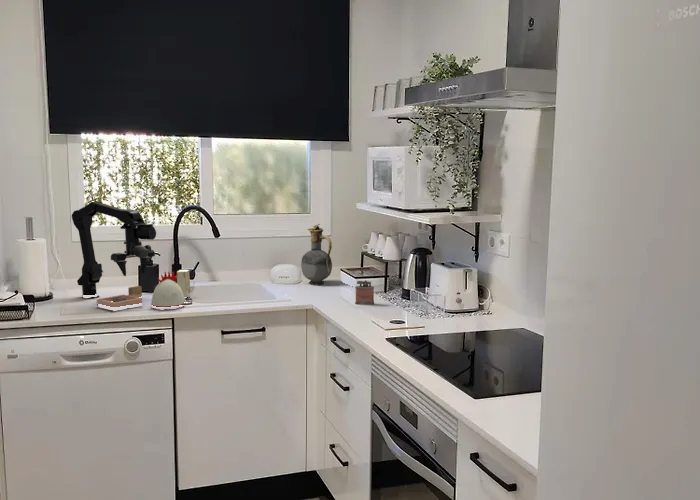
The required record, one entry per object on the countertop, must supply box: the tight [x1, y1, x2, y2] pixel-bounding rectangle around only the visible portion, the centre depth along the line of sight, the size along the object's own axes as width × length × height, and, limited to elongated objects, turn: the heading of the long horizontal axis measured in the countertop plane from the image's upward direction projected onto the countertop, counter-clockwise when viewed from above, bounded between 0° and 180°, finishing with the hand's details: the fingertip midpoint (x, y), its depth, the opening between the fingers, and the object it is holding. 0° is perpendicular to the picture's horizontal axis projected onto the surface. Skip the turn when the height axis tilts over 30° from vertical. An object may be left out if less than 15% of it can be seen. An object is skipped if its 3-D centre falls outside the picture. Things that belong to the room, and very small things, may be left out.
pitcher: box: [300, 223, 333, 286], centre depth 328 cm, size 11×19×30 cm, turn 42°
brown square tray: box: [96, 293, 143, 307], centre depth 280 cm, size 13×13×4 cm
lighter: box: [354, 279, 375, 306], centre depth 283 cm, size 8×3×10 cm, turn 84°
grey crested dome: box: [150, 271, 186, 307], centre depth 280 cm, size 14×14×15 cm
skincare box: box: [176, 269, 191, 298], centre depth 299 cm, size 6×4×12 cm
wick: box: [127, 285, 143, 297], centre depth 293 cm, size 2×5×6 cm, turn 142°
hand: (134, 274), depth 292 cm, fingers open, 9 cm apart
